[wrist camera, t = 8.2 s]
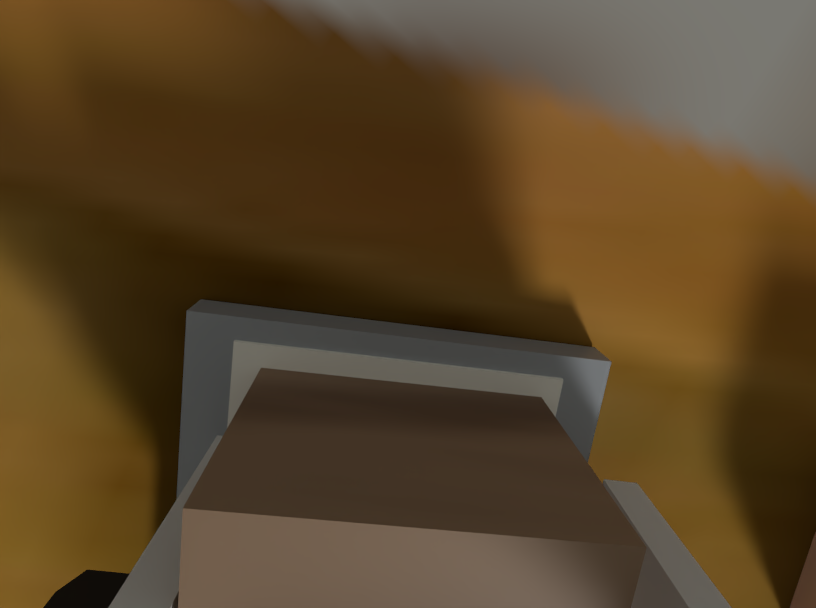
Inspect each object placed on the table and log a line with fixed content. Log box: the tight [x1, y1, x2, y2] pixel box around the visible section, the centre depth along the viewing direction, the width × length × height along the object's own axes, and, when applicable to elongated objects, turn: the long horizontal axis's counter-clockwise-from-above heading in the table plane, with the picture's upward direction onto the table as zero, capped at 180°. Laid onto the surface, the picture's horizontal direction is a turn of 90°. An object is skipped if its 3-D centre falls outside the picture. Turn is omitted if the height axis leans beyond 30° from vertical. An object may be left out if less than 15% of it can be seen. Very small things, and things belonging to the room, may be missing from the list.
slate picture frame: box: [176, 299, 611, 500], centre depth 13 cm, size 9×8×1 cm
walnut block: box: [178, 368, 647, 608], centre depth 10 cm, size 6×6×5 cm
